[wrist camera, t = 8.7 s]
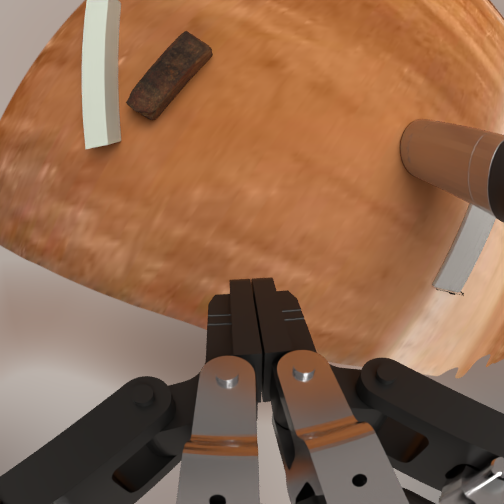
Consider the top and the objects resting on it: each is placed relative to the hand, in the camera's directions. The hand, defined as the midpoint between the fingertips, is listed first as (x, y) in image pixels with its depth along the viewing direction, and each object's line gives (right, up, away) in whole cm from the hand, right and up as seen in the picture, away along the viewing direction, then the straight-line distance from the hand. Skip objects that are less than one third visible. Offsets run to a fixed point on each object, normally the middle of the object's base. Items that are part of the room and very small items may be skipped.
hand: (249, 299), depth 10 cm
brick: (-9, +23, +19) cm, 31 cm away
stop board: (-18, +24, +16) cm, 34 cm away
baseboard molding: (+44, +8, +32) cm, 55 cm away
